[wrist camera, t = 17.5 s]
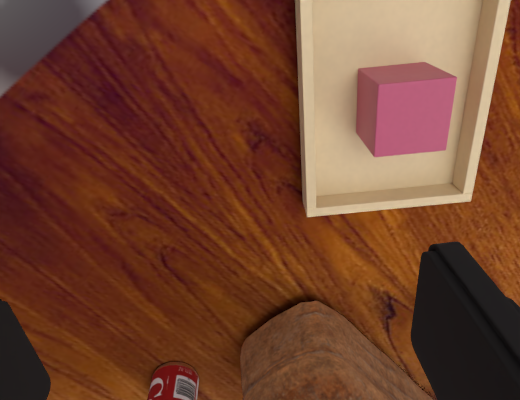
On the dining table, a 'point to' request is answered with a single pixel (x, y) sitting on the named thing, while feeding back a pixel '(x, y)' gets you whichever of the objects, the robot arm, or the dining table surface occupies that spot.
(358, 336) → the bread
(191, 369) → the soda can
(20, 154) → the dining table surface
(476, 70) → the tray
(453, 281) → the robot arm
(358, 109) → the top block
